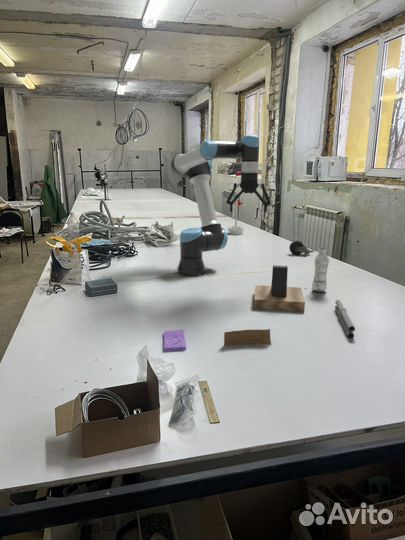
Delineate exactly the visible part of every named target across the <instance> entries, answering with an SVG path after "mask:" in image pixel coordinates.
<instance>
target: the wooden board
mask: <svg viewBox="0 0 405 540" xmlns="http://www.w3.org/2000/svg"><path fill="white" fill-rule="evenodd" d="M253 298H254V299H253V309H254V310H255V309H256V310H271V311H272V310H273V311H284V312H285V311H287V312H302V313H304V312H305V307H306V306H305V305H306V301H305V297H304V293H303V290H302V287H299V286H298V287H297V286H296V287H295V286H287V297H276V296H272V293H271V285H259V284H255V289H254V297H253Z"/></svg>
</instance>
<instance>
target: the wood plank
mask: <svg viewBox="0 0 405 540" xmlns="http://www.w3.org/2000/svg"><path fill="white" fill-rule="evenodd" d="M223 333H224V334H223V336H224V338H223V346H235V345H237V346H238V345H260V346H261V345H262V346H271V345H272V341H271V328H268V329H242V330H232V331H224V332H223Z"/></svg>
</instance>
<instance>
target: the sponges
mask: <svg viewBox="0 0 405 540" xmlns="http://www.w3.org/2000/svg"><path fill="white" fill-rule="evenodd" d="M163 338H164V339H163V340H164V342H163V343H164V344H163V347H164V349H163V350H164V352H172V351H173V352H174V351H186V350H187V345H186V344H187V343H186V337H185V330H184V329H177V330H164V331H163Z"/></svg>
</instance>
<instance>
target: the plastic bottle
mask: <svg viewBox="0 0 405 540" xmlns="http://www.w3.org/2000/svg"><path fill="white" fill-rule="evenodd" d="M317 253H318V254H317V255H316V256H315V258H314V275H313V281H312V283H311V287H312V290H313V291H314V292H317V293H323V292H325V291H326V290H327V288H328V287H327V284H328V283H327V274H328V273H327V272H328V268H329V263H330V259H329V257H328V255H327V254H328V248H323V247H319V248H318V252H317Z"/></svg>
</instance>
